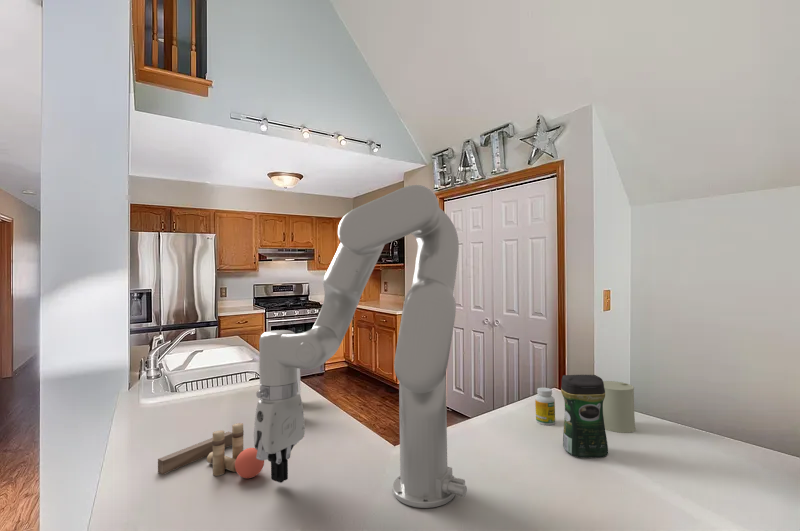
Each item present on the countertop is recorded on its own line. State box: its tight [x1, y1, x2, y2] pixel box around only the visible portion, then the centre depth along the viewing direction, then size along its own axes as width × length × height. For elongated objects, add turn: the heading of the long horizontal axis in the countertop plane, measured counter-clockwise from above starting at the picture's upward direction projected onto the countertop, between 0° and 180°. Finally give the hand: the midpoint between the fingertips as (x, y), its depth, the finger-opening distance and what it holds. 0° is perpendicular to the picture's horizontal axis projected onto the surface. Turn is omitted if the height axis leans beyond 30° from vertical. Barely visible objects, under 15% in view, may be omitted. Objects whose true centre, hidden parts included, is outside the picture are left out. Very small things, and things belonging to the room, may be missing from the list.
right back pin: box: [231, 422, 245, 459], centre depth 93 cm, size 2×2×9 cm
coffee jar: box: [560, 374, 609, 459], centre depth 96 cm, size 10×8×19 cm
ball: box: [235, 447, 265, 479], centre depth 87 cm, size 6×6×6 cm
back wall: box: [157, 431, 232, 475], centre depth 97 cm, size 2×18×3 cm, turn 150°
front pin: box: [206, 452, 237, 473], centre depth 91 cm, size 2×2×9 cm
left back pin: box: [212, 429, 226, 477], centre depth 89 cm, size 2×2×9 cm
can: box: [603, 380, 637, 434], centre depth 112 cm, size 9×9×12 cm
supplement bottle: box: [534, 387, 556, 426], centre depth 116 cm, size 5×5×10 cm
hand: (279, 479), depth 82 cm, fingers closed
